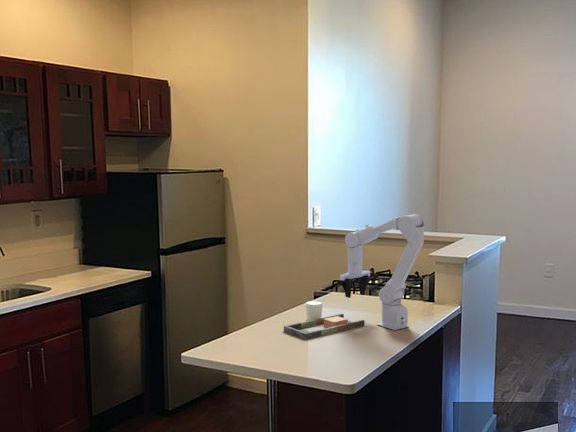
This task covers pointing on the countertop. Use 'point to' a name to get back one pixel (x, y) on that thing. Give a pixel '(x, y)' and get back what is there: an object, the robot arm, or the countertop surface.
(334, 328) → the channel
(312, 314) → the shot glass
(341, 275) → the robot arm
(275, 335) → the countertop surface
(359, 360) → the countertop surface
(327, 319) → the brick block
